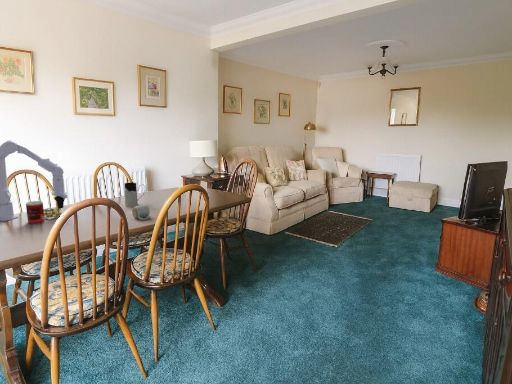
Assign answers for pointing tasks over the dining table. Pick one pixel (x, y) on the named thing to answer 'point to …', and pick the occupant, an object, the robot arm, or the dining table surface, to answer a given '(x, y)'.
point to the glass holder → (131, 194)
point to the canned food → (35, 212)
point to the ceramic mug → (141, 212)
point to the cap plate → (52, 214)
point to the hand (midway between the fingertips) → (60, 208)
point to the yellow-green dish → (55, 211)
